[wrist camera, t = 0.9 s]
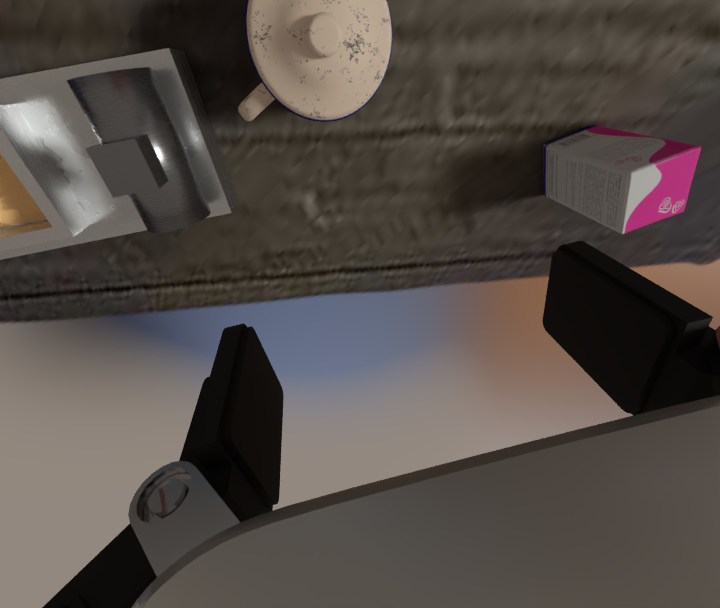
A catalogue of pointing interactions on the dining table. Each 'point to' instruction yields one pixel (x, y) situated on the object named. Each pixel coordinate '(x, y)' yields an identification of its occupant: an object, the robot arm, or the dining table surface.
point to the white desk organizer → (106, 153)
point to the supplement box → (619, 176)
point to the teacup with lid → (317, 55)
